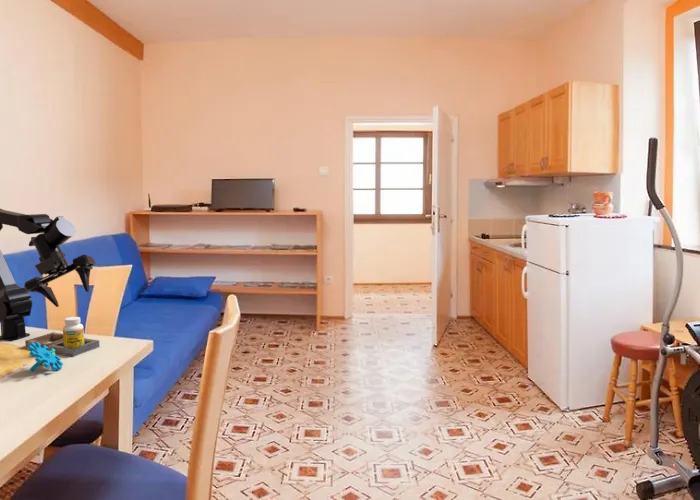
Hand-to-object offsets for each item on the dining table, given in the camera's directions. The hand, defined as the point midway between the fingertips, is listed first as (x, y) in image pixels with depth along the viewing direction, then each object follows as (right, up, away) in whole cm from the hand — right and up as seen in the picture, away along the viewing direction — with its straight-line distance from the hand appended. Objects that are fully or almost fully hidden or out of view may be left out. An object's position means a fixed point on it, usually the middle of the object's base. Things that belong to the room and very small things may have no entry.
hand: (72, 299), depth 145 cm
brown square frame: (-9, -14, +5) cm, 18 cm away
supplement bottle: (0, -15, +1) cm, 15 cm away
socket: (0, -15, +1) cm, 15 cm away
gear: (+1, -17, -14) cm, 23 cm away
